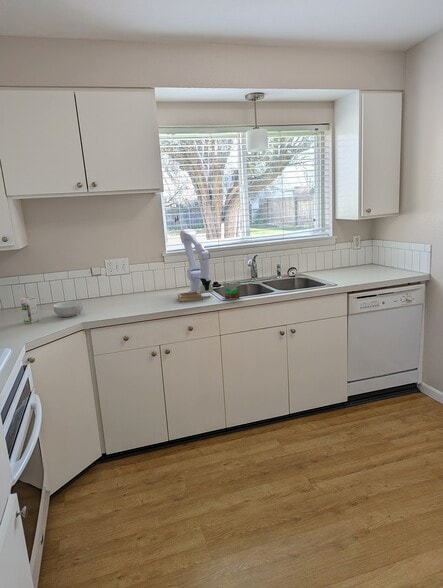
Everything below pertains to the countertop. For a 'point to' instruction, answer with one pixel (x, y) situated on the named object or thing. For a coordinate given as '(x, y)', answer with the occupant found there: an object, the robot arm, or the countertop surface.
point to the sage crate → (202, 289)
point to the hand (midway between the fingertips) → (206, 289)
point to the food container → (232, 290)
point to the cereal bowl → (68, 308)
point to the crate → (189, 296)
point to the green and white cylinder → (29, 309)
